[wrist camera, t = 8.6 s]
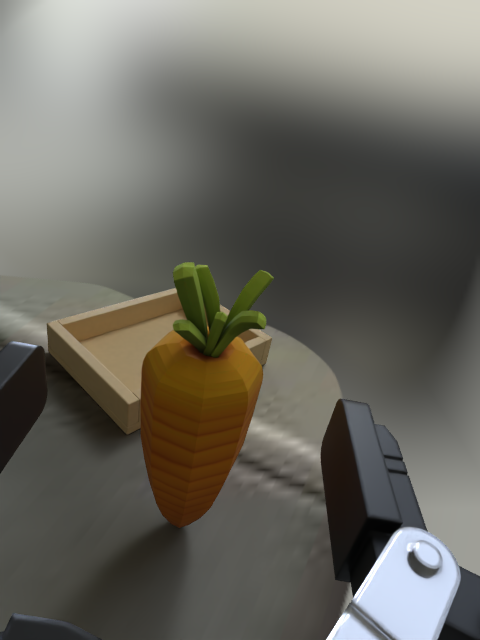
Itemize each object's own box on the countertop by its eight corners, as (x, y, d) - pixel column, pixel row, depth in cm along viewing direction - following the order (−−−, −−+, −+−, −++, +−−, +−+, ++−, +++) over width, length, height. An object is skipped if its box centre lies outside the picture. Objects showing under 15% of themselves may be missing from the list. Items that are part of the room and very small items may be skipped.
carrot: (225, 486, 25) (281, 245, 17) (226, 573, 21) (301, 304, 13) (139, 479, 24) (158, 226, 17) (122, 567, 20) (137, 282, 13)
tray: (126, 435, 27) (128, 404, 26) (48, 351, 33) (46, 322, 31) (266, 363, 36) (272, 337, 35) (185, 307, 42) (188, 284, 41)
